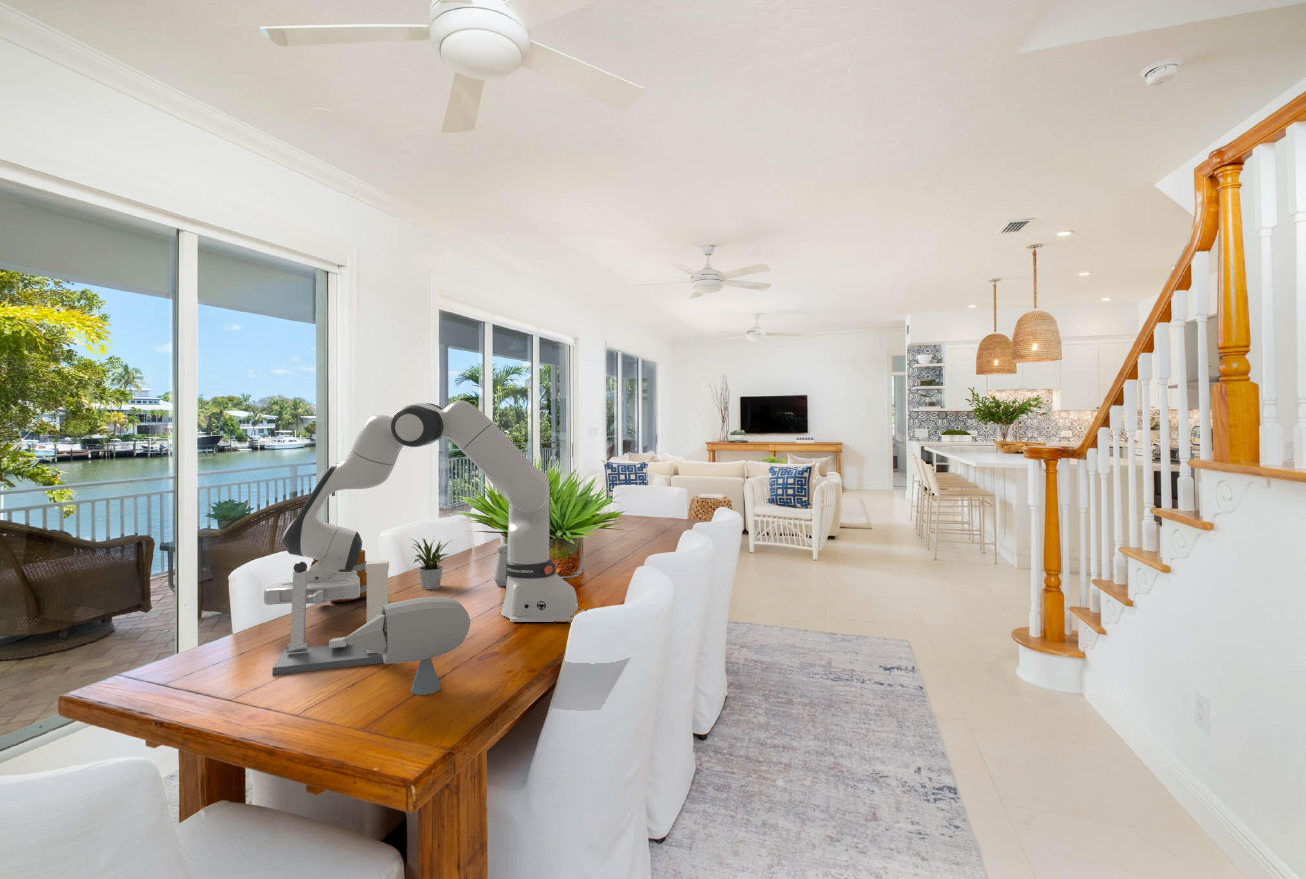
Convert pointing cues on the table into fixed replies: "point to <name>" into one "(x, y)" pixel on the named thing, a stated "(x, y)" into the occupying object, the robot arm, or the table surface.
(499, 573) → the salt shaker
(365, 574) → the mug
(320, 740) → the table surface
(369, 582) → the beige rectangular bar
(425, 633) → the jet engine
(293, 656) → the console
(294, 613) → the steel toggle lever
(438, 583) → the house plant
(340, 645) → the block
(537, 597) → the robot arm
